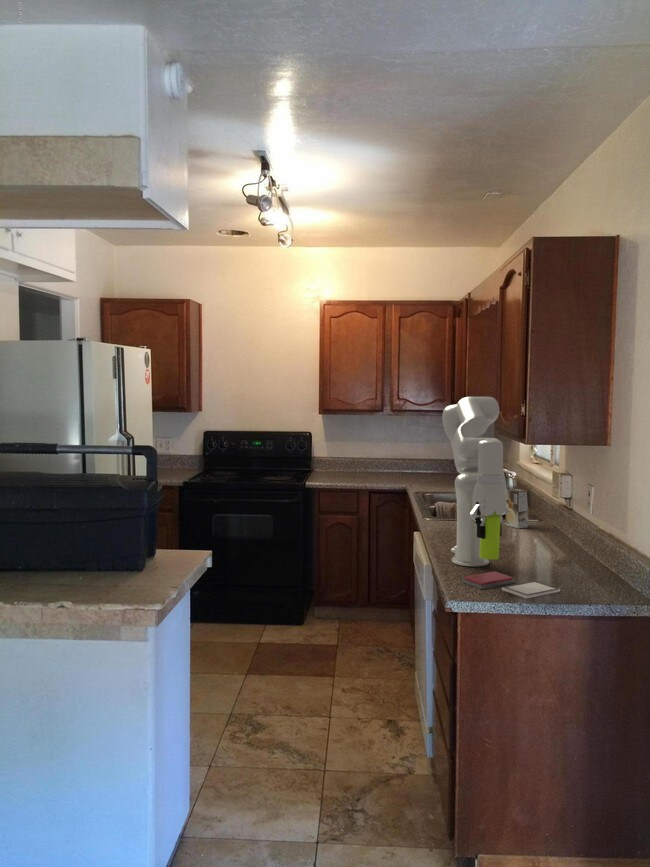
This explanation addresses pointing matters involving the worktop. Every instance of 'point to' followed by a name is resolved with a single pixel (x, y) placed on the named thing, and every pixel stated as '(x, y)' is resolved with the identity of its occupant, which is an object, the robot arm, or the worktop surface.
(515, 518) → the coffee box
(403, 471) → the worktop surface
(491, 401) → the robot arm
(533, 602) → the worktop surface
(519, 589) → the marked card
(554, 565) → the worktop surface
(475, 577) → the ink pad
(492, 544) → the soap dispenser
